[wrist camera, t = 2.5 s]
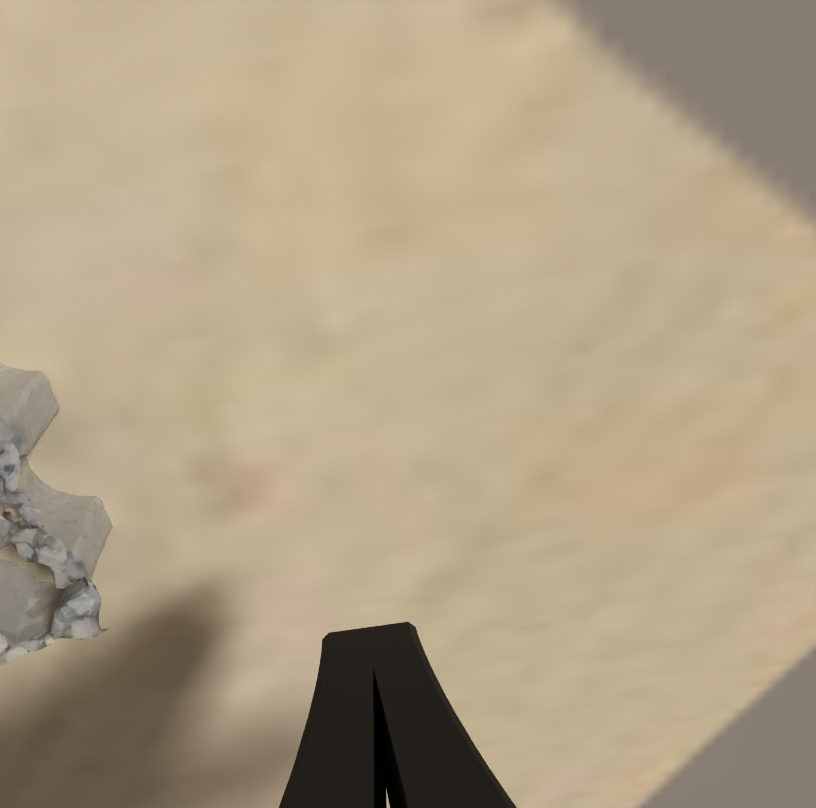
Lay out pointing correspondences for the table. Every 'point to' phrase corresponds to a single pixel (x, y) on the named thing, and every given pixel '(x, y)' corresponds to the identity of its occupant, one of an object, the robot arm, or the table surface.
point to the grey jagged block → (42, 531)
